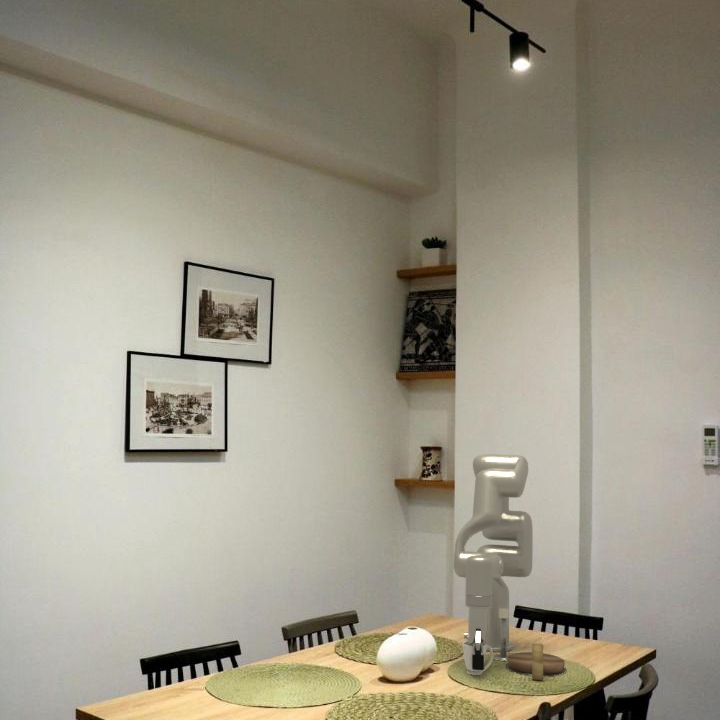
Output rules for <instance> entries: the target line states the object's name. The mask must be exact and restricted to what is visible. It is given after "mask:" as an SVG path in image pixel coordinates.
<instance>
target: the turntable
mask: <svg viewBox="0 0 720 720" xmlns="http://www.w3.org/2000/svg"><path fill="white" fill-rule="evenodd" d="M507 656H508V657H507V661H506V663H507V665H508V667H509V668H511V669H513V670H516V671H520V672H524V673H531V674H532V676H531V679H533V680H538V681H539V680H544V677H543V674H555V673H560V672H562V671H564V667H565V660H564V659H563V658H561V657H560V656H557V655H553V654H550V653H544V643H541V642H532V644H531V651H528V652H527V651H524V652H523V651H522V652H515V653H511V654H509V655H507Z"/></svg>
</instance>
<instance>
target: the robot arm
mask: <svg viewBox="0 0 720 720" xmlns="http://www.w3.org/2000/svg"><path fill="white" fill-rule="evenodd" d="M527 460H528V459H526V457H525V456H523V455H520V454H519V455H517V454H481V455H477V456H475V457H474V459H473V462H472V470H473V474H474V477H475V481H474V482H475V483H474V493H473V494H474V496H473V505H472V506H473V507H472V517H471V518H470V520H469V521H467V523H465V524H464V525H463V526H462V528H461V529H460V531H459V533H458V534H457V536H456V540H455V545H454V551H453V552H454V553H453V570H454V573H455V575H457V576H458V577H460V578H465V604H464V605H465V607H467V608H468V617H467V618H468V620H467V621H468V622H467V624H468V625H467V626H468V629H467V631H468V632H467V631H464V632H463V638H464V639H465V640H466V639H467V641H468V643H469V644H471V643H473V654H472V669H473V670H484V667H485V662H484V655H483V644H487V645H488V646H490V647H491V648H492V651H493V653H494V652H496V653H497V652H499V653H501V618H499V607H508V608H509V609H510V590H509V587H508V585H507V583H506V582H505V581H504V579H503V578H502V577H509V578H527V577H529V576H530V575H532V574H531V573H532V570H533V552H534V551H533V548H534V545H533V537H534V536H533V533H534V532H533V520H532V517H531V515H530V514H529V513H528V512H526V511H522V510H521V511H520V510H510V508H509V507H510V498H517V499H518V498H521V497H522V495H523V493H524V491H525V487H526V483H527V479H528V475H529V463H528V461H527ZM480 532H482V535H483V537H484V539H487V540H490V541H501V542H502V541H504V542H515V543H516V544H517V545H505V544H484V545H482V546H480V547H478V549H477V551H468V550H467V551H466V545H467V543H468V542H469V540H470V539H471V538H472V537H473V536H474V535H477V534H478V533H480ZM475 641H476V643H475ZM480 642H482V643H480ZM514 649H515V644H514V643H513V642H511V641H510V618H509V619H508V618H507V652H509V651H512V650H514ZM486 652H490V649H489V648H488V647H487V649H486Z"/></svg>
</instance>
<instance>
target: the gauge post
mask: <svg viewBox="0 0 720 720" xmlns="http://www.w3.org/2000/svg"><path fill="white" fill-rule="evenodd" d="M499 618H501V652H500V654H497V655H495V656H494V659H495V658H496V659H498V660H507V657H508V656H509V655H508V653H507V652H508V651H507V618H508V619H509V620H510V607H509V608H508V607H499ZM496 659H495V660H496ZM498 660H497V661H498Z"/></svg>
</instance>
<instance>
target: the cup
mask: <svg viewBox="0 0 720 720" xmlns="http://www.w3.org/2000/svg"><path fill="white" fill-rule="evenodd" d="M475 643H476V641H475ZM480 643H482V642H480ZM461 645H462V653H463V659H464V661H463V662H464V664H465V668H466V669H467V670H466V674H468V675H471V674H472V676H480V675H483V673H484V672H485V671H486V670H487V669H488V668H489V667H490V666H491V664H492V662H493V660H494V652H493V651H492V648H491V647H490V646H488V645H487V644H483V655H484V663H485V662H486V654H487V651H486V649H487V647H488V648H489V649H490V651H489V652H490V658H489V661H488V662H487V664H486V665H484V670H473V669H472V654H473V643H471V644H469V643H468V640H465V641H463V642H462V643H461Z"/></svg>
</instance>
